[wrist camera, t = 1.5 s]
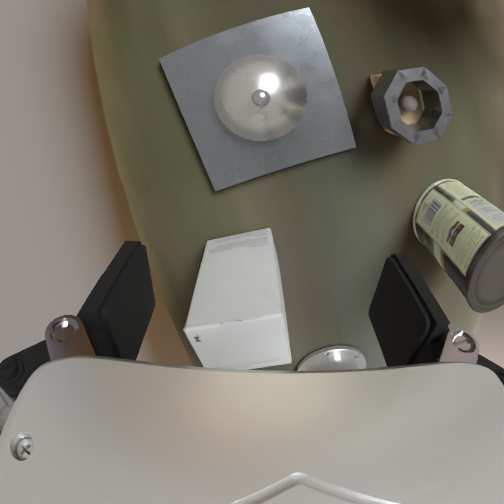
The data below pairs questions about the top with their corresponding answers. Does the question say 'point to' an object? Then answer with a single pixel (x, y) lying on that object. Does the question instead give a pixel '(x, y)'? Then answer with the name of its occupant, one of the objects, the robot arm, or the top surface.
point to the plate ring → (433, 97)
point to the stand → (405, 102)
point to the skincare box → (239, 304)
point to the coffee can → (464, 240)
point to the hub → (260, 97)
